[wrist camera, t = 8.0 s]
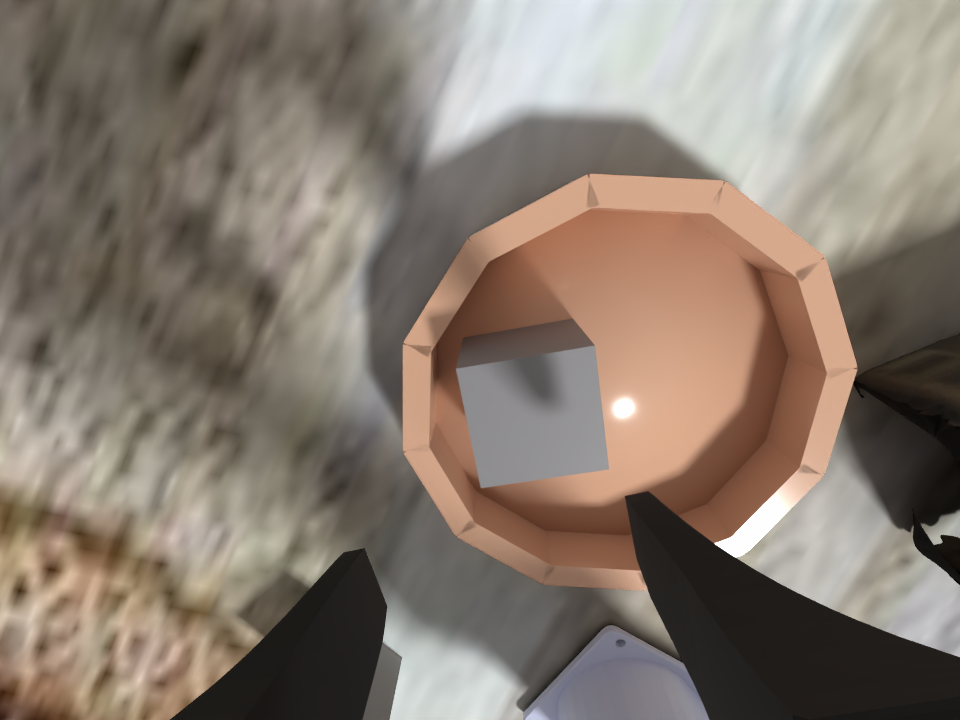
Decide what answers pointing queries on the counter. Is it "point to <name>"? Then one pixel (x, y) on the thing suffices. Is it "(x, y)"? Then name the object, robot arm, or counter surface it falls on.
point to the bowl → (640, 370)
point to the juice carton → (925, 417)
